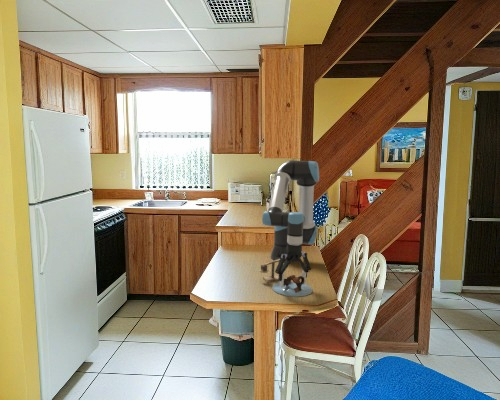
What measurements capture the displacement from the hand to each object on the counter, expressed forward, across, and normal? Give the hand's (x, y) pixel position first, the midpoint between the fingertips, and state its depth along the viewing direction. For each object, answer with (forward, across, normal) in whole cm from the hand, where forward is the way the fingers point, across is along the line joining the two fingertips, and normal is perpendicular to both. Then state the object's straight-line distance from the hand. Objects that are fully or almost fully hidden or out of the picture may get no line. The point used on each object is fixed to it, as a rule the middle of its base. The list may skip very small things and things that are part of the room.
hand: (292, 285), depth 205 cm
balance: (+2, +3, -16) cm, 16 cm away
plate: (+2, 0, 0) cm, 2 cm away
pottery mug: (+2, 0, +1) cm, 2 cm away
